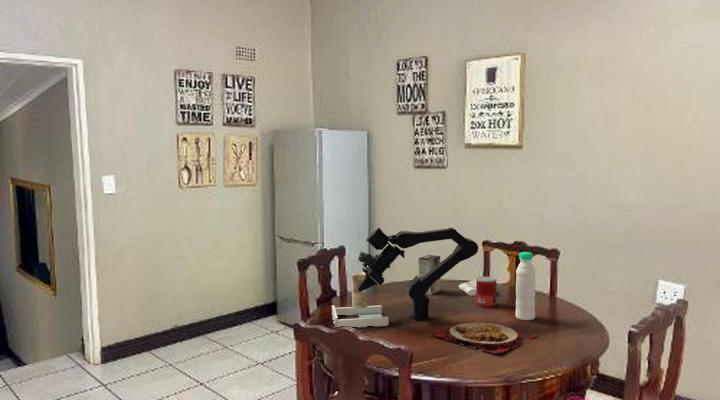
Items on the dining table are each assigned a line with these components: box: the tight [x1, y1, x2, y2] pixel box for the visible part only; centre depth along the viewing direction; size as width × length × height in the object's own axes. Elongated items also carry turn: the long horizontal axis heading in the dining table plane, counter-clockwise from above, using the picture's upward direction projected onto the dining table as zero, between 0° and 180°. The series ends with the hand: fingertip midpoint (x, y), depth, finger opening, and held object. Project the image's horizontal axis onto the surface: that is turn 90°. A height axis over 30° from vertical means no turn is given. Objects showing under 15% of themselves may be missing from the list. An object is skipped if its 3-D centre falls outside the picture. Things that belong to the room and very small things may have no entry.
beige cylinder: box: [350, 271, 368, 308], centre depth 201 cm, size 5×5×12 cm
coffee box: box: [418, 254, 442, 295], centre depth 241 cm, size 9×6×16 cm
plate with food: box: [430, 321, 537, 354], centre depth 182 cm, size 25×26×4 cm
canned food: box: [475, 276, 497, 308], centre depth 219 cm, size 8×8×11 cm
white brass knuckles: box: [458, 279, 476, 297], centre depth 240 cm, size 3×18×15 cm
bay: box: [331, 305, 389, 328], centre depth 202 cm, size 20×16×4 cm
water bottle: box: [515, 251, 536, 321], centre depth 200 cm, size 7×7×25 cm
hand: (357, 289), depth 201 cm, fingers closed on beige cylinder, 5 cm apart
